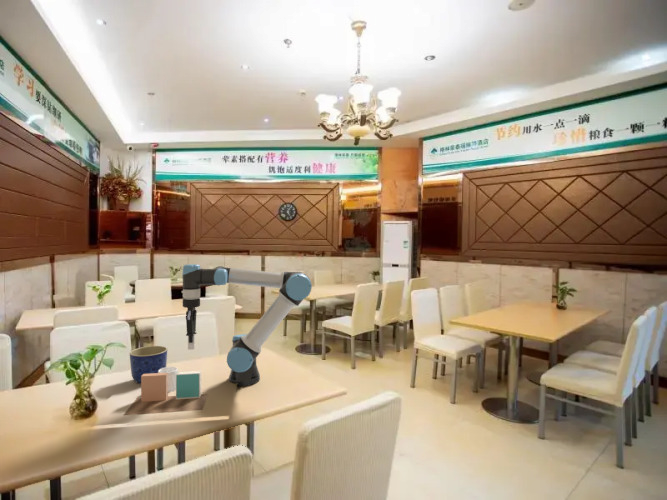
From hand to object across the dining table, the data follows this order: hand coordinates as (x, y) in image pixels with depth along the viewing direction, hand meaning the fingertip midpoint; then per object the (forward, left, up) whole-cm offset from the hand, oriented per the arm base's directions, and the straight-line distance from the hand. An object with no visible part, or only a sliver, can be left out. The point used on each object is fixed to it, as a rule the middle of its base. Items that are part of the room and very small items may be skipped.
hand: (191, 349), depth 172 cm
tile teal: (0, +8, -19) cm, 21 cm away
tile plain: (+14, +8, -19) cm, 25 cm away
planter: (+24, -19, -21) cm, 37 cm away
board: (+7, +13, -21) cm, 25 cm away
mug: (+13, -3, -21) cm, 25 cm away
